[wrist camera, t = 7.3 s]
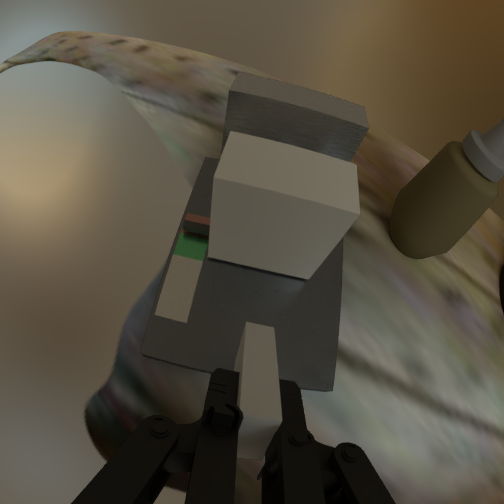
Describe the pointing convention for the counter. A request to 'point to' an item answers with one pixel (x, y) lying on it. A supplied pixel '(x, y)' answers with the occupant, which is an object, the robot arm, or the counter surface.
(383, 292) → the counter surface
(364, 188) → the counter surface
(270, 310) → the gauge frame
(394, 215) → the squeeze bottle
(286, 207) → the block
